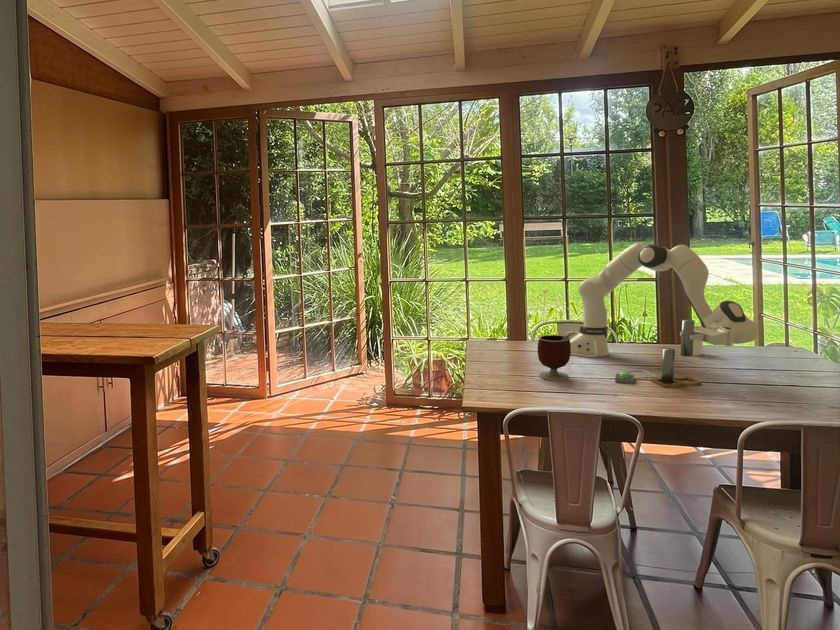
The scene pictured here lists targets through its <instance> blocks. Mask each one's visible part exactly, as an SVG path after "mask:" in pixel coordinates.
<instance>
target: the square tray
mask: <svg viewBox="0 0 840 630" xmlns="http://www.w3.org/2000/svg"><path fill="white" fill-rule="evenodd" d="M620 372H628V373H632V372H633V373H634V372H644V373H645V374H648V376H634V380H635V379H636V380H639V379H655V378H659V376H658V375H656V374H654V373H651V372H649V371H647V370H645V369H636V370H621V371H619V373H620Z"/></svg>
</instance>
